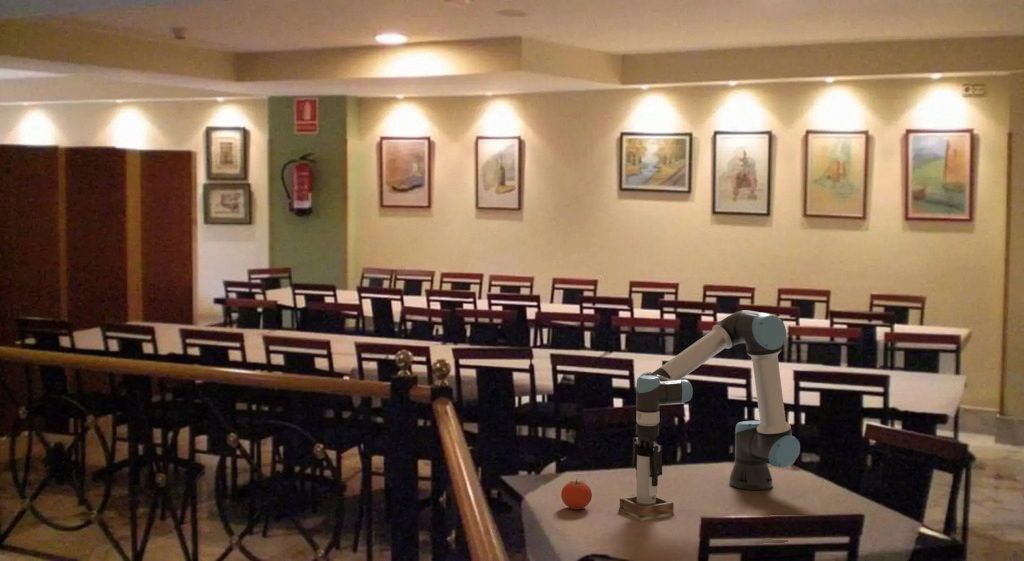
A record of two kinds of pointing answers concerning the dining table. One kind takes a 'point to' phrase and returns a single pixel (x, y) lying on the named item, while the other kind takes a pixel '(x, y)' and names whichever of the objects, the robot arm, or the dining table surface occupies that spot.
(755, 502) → the dining table surface
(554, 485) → the dining table surface
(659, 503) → the walnut caddy
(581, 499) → the tomato
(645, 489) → the travel mug
